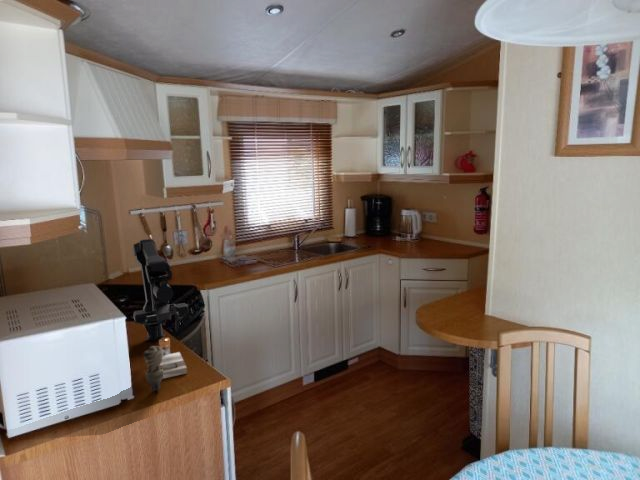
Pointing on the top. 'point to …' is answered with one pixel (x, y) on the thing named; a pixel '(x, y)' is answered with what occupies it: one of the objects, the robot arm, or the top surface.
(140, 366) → the top surface
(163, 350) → the brown round tapered piece
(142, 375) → the top surface
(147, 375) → the grey stone figurine
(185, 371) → the white block
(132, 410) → the top surface
